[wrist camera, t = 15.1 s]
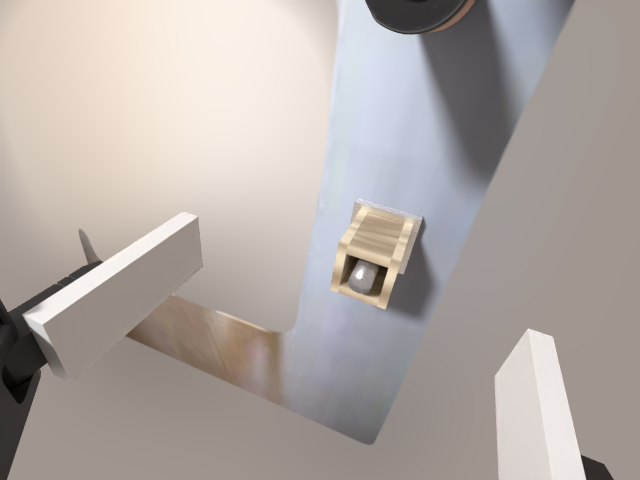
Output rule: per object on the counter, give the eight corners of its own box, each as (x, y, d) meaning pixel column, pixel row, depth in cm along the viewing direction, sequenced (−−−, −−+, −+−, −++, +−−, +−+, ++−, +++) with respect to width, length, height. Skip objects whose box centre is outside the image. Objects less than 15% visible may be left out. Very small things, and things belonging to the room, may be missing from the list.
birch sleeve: (360, 209, 52) (338, 243, 44) (412, 225, 50) (400, 263, 42) (350, 252, 56) (329, 289, 48) (398, 267, 54) (385, 309, 46)
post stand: (357, 197, 53) (328, 240, 42) (423, 216, 50) (408, 266, 40) (346, 250, 58) (318, 299, 48) (405, 269, 56) (388, 324, 46)
